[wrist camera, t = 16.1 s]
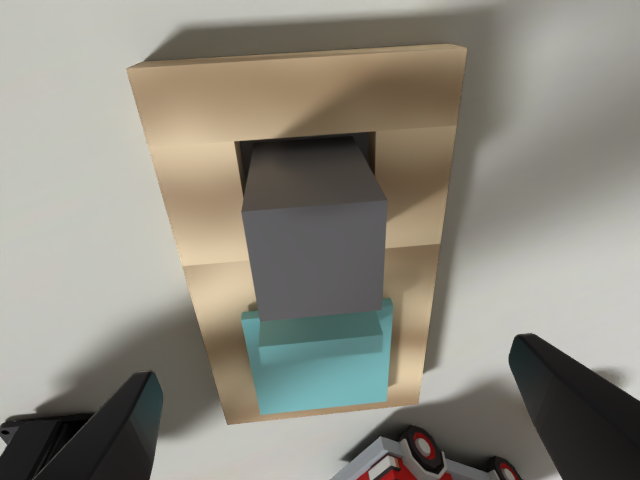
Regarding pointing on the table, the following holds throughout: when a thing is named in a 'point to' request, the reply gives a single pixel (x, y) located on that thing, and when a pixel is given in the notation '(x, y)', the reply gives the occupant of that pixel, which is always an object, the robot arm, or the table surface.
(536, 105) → the table surface
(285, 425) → the table surface
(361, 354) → the panel
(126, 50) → the table surface
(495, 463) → the toy fire truck
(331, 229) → the plug
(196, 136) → the socket plate
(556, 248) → the table surface
